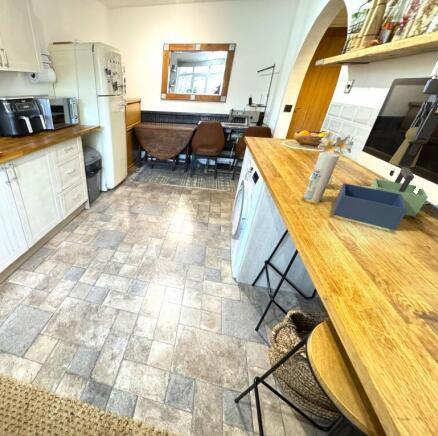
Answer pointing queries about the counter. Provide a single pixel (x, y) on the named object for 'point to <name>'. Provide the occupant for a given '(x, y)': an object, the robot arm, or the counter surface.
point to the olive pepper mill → (403, 147)
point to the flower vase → (341, 144)
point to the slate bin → (370, 206)
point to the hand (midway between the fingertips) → (402, 162)
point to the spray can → (321, 176)
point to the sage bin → (403, 190)
